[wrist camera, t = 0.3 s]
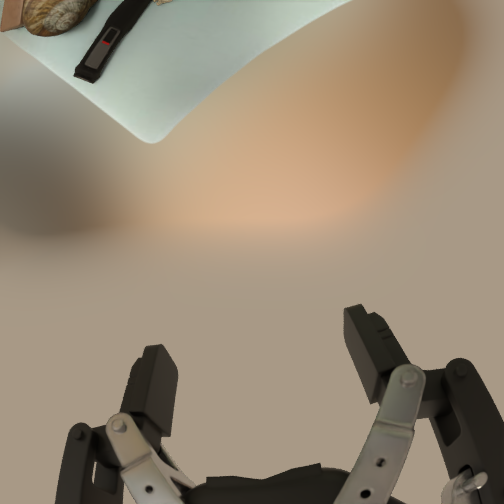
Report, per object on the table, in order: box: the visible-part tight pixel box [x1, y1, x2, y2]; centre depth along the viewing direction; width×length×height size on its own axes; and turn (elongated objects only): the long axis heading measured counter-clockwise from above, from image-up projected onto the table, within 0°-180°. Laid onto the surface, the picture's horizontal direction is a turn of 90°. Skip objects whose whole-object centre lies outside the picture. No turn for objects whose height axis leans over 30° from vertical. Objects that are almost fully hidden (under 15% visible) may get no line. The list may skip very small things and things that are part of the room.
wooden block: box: [0, 0, 25, 32], centre depth 11 cm, size 4×4×8 cm
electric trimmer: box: [73, 0, 151, 84], centre depth 20 cm, size 4×16×3 cm, turn 137°
